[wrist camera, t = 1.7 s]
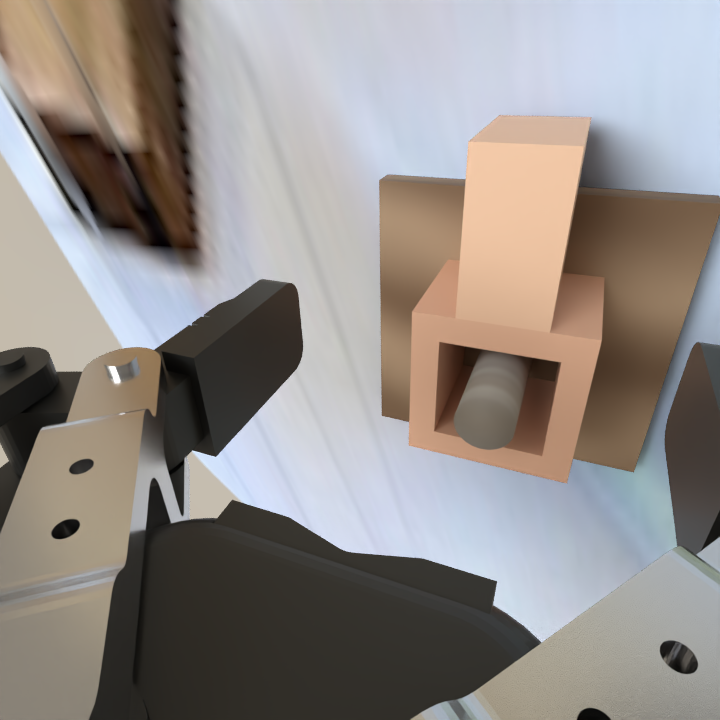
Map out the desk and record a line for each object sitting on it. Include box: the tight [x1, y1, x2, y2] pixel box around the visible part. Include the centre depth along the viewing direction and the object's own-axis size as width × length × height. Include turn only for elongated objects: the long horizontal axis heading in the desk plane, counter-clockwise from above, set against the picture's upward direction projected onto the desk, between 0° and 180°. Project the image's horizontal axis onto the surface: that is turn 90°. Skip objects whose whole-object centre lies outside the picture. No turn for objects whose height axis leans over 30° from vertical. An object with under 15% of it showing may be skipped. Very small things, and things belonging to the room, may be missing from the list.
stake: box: [379, 175, 720, 472], centre depth 20 cm, size 12×12×8 cm
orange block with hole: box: [409, 115, 605, 483], centre depth 19 cm, size 12×6×5 cm, turn 2°
